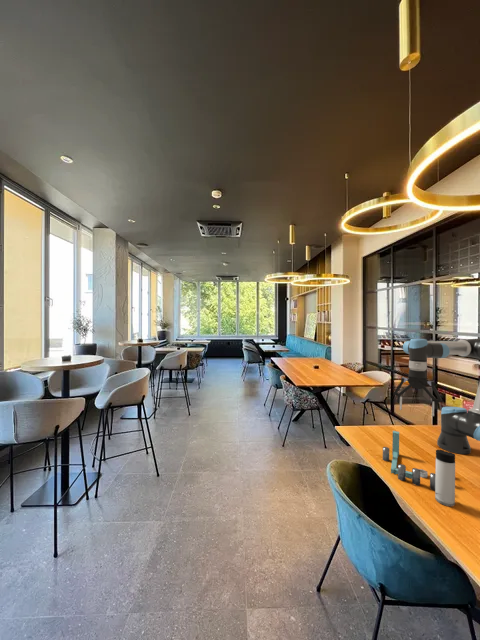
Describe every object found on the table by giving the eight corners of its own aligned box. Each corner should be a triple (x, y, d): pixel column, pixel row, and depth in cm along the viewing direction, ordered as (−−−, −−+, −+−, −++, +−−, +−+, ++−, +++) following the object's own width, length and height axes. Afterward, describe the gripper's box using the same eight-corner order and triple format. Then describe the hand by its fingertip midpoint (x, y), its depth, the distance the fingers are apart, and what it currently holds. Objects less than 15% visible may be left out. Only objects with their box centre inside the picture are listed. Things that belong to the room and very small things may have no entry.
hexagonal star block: (427, 474, 130) (427, 470, 130) (427, 479, 126) (427, 475, 126) (417, 472, 132) (417, 467, 132) (417, 476, 128) (417, 472, 128)
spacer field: (443, 472, 132) (443, 459, 132) (447, 494, 115) (447, 479, 115) (382, 457, 145) (383, 446, 145) (379, 475, 128) (379, 462, 128)
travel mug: (433, 501, 110) (434, 451, 110) (437, 494, 114) (437, 446, 114) (453, 509, 105) (453, 456, 105) (456, 501, 110) (456, 451, 110)
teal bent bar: (392, 452, 151) (392, 430, 151) (413, 457, 146) (413, 434, 146) (389, 472, 131) (389, 447, 131) (413, 479, 126) (413, 452, 126)
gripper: (388, 367, 142) (387, 408, 142) (449, 374, 128) (448, 420, 128) (390, 365, 148) (389, 405, 148) (448, 371, 134) (447, 415, 134)
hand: (416, 412), depth 138 cm, fingers open, 13 cm apart
